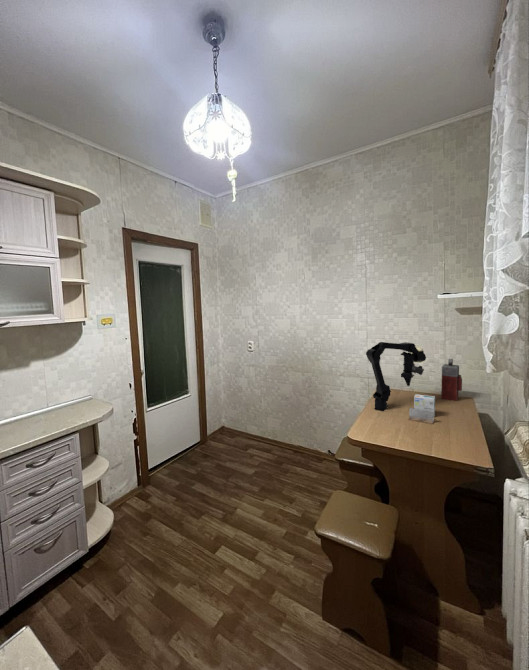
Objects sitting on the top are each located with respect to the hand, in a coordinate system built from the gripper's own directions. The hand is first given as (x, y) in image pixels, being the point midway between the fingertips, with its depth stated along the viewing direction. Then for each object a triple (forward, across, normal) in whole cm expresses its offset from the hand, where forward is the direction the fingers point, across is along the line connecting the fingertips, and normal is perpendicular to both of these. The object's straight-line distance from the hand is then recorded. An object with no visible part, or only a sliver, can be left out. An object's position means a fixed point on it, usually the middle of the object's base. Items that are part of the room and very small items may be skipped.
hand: (408, 385), depth 183 cm
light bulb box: (+13, -12, -10) cm, 20 cm away
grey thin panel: (+13, -23, -10) cm, 29 cm away
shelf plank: (+13, -25, -10) cm, 30 cm away
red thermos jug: (+13, +28, -23) cm, 39 cm away
